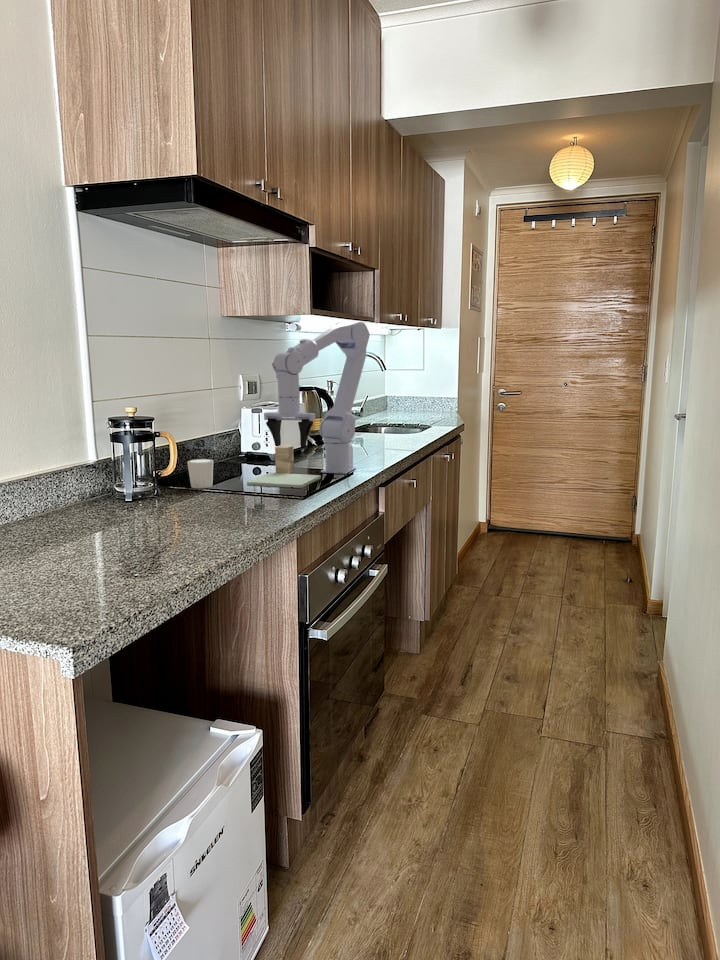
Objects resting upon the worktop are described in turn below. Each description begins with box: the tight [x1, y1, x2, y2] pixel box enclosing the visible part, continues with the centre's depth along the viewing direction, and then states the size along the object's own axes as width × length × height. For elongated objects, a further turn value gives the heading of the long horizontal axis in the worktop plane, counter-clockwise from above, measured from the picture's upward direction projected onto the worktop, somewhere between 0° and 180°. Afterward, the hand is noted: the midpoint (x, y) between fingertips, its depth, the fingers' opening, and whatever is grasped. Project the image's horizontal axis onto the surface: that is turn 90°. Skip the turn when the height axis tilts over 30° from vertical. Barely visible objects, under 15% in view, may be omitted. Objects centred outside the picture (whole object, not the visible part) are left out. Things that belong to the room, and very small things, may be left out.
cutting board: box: [246, 472, 322, 489], centre depth 187 cm, size 14×16×1 cm
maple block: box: [274, 445, 295, 474], centre depth 198 cm, size 4×4×8 cm
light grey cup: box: [187, 458, 214, 489], centre depth 181 cm, size 7×7×7 cm
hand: (290, 446), depth 187 cm, fingers open, 7 cm apart
